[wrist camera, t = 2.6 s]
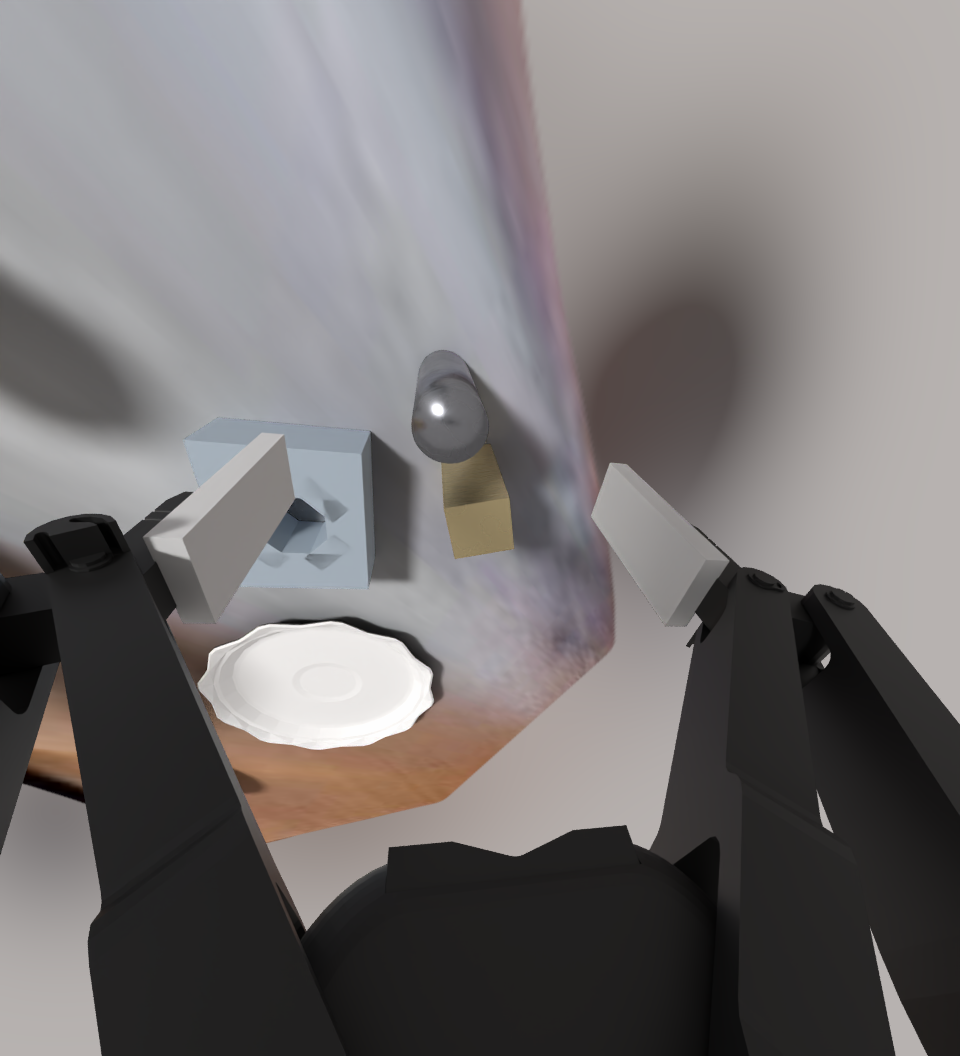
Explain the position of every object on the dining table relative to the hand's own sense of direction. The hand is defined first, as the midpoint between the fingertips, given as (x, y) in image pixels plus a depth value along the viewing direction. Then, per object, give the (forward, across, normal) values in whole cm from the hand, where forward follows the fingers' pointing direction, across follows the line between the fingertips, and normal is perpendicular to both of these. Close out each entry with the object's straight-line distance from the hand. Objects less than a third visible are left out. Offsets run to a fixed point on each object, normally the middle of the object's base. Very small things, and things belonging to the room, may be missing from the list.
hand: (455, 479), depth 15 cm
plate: (+18, -13, -42) cm, 47 cm away
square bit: (+18, +3, -8) cm, 20 cm away
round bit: (+18, 0, 0) cm, 18 cm away
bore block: (+18, -12, -12) cm, 25 cm away
